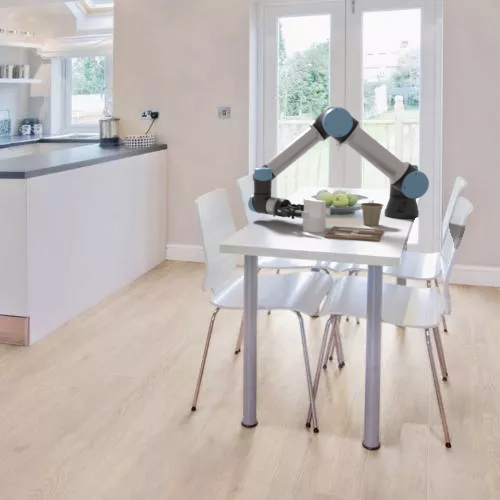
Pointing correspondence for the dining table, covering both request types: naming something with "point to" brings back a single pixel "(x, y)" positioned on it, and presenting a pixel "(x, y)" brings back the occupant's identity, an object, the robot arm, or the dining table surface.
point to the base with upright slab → (314, 215)
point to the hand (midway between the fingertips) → (319, 213)
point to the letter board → (354, 233)
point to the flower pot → (371, 213)
